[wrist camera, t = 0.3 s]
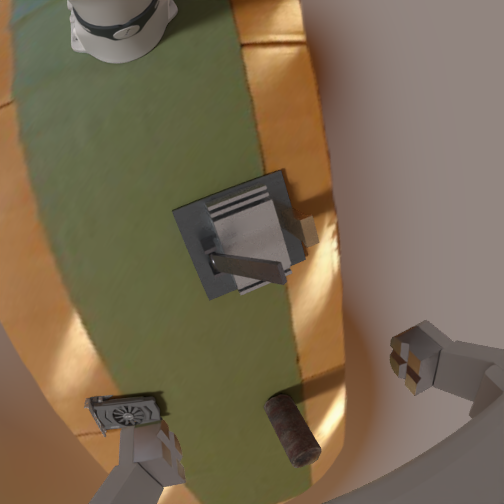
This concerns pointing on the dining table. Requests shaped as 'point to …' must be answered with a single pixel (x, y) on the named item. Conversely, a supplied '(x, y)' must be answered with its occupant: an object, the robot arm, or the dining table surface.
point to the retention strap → (248, 267)
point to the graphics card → (122, 411)
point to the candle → (292, 431)
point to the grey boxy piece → (245, 231)
